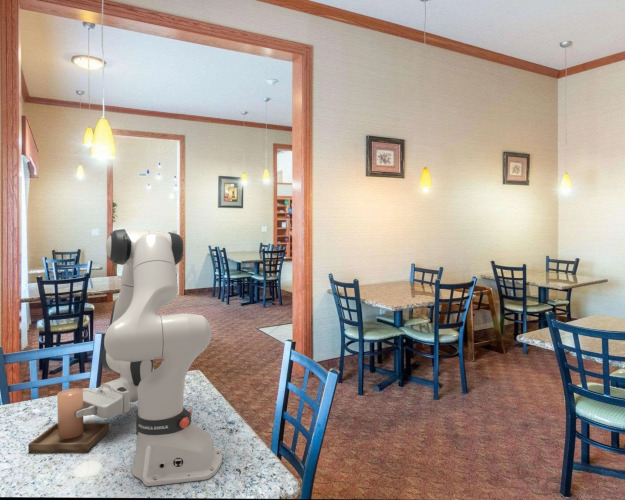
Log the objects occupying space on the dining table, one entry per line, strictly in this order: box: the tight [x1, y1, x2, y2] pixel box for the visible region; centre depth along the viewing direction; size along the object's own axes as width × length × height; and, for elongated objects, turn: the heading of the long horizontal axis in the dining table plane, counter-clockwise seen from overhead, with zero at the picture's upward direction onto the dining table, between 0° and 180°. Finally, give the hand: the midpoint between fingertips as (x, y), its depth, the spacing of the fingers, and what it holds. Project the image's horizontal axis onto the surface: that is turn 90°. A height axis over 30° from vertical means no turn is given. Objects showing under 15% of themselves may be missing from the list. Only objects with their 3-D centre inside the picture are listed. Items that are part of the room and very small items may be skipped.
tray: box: [27, 422, 110, 454], centre depth 124 cm, size 16×13×2 cm
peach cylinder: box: [56, 387, 85, 439], centre depth 123 cm, size 6×6×12 cm
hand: (67, 411), depth 123 cm, fingers closed on peach cylinder, 6 cm apart
